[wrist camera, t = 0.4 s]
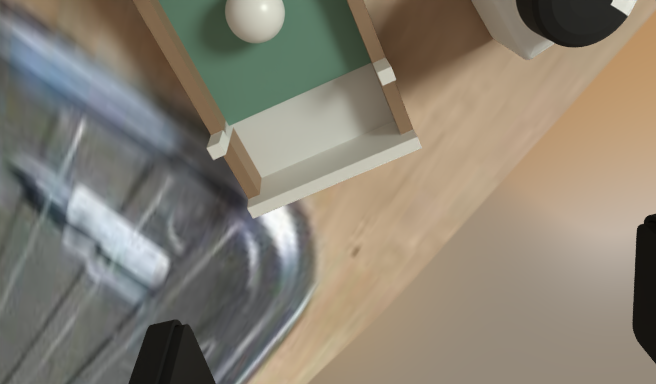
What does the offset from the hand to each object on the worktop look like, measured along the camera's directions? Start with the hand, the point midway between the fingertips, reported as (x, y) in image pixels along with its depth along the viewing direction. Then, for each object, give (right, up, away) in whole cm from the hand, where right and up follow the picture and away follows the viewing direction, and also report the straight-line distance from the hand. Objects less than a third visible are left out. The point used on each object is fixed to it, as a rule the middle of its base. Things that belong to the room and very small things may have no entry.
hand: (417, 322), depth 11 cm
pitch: (-6, +15, +30) cm, 34 cm away
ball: (-7, +15, +26) cm, 30 cm away
